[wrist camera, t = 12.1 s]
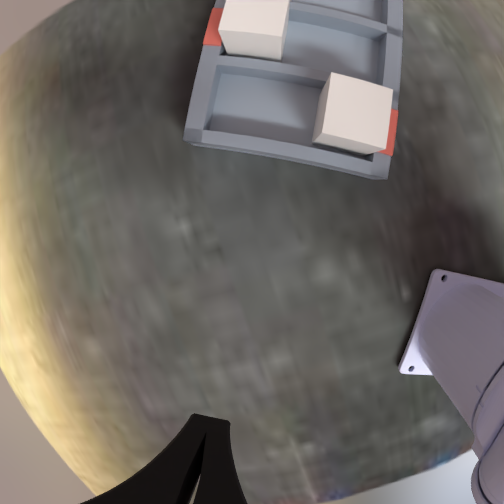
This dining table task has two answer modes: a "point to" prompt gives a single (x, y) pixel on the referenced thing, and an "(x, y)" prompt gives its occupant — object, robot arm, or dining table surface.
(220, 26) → the tab mid
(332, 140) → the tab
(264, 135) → the switch bank
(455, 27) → the dining table surface
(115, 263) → the dining table surface
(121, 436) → the dining table surface
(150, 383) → the dining table surface
